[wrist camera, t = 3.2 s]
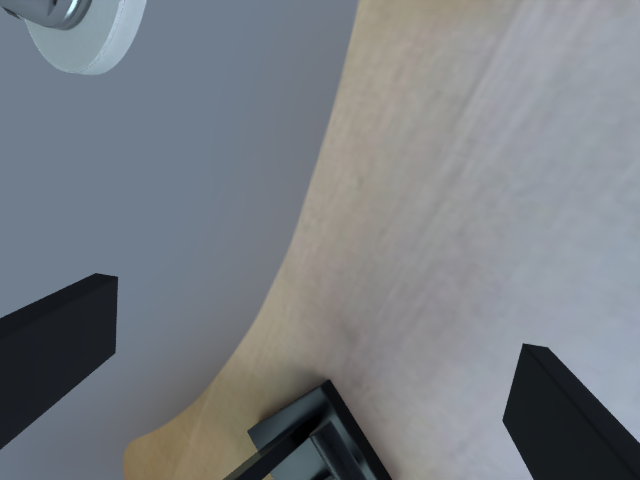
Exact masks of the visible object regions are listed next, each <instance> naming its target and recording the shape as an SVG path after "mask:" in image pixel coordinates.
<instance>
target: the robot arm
mask: <svg viewBox="0 0 640 480" xmlns="http://www.w3.org/2000/svg"><path fill="white" fill-rule="evenodd" d="M91 2H92V0H0V6H2V7H3V8H4V9H5V10H6V11H7V13H8V14H10V15H12V16H14V17H16V18H18V19H20V18H19V17H18V16H17V15H16V14H18V15H20V16H22V17H24V18H26V19H28V20H29V21H31V22H33V23H36V24H39V25H41V26H43V27H48V28H52V29H57V30H63V31H66V30H70V29H73V28H74V27H76V26H77V25H78V24H79V23H80V22H81V21H82V19H83V18H84V16H85V15H86V13H87V11H88V9H89V7H90V5H91ZM15 13H16V14H15ZM117 290H118V277H115V276H109V275H103V274H98V273H95V274H93V275H91V276H89V277H86V278H84V279H82V280H80V281H78V282H76V283H74V284H72V285H70V286H67V287H65V288H63V289H61V290H59V291H57V292H55V293H53V294H51V295H48V296H46V297H44V298H42V299H40V300H38V301H36V302H34V303H31V304H29V305H27V306H25V307H23V308H21V309H19V310H17V311H15V312H13V313H11V314H8V315H6V316H4V317H2V318H0V450H1V449H2V448H3V447H4V446H5V445H6V444H8V443H9V442H10V441H11V440H12V439H14V438H15V437H16V436H17V435H18V434H20V433H21V432H22V431H23V430H24V429H25V428H27V427H28V426H29V425H30V424H31V423H33V422H34V421H35V420H36V419H37V418H39V417H40V416H41V415H42V414H43V413H44V412H46V411H47V410H48V409H49V408H50V407H52V406H53V405H54V404H55V403H56V402H57V401H59V400H60V399H61V398H62V397H63V396H65V395H66V394H67V393H68V392H69V391H71V390H72V389H73V388H74V387H75V386H77V385H78V384H79V383H80V382H81V381H82V380H84V379H85V378H86V377H87V376H89V374H91V373H92V372H93V371H94V370H95V369H97V368H98V367H99V366H100V365H102V364H103V363H104V362H105V361H106V360H108V359H109V358H110V357H111V356H112V355H114V354H115V349H116V348H115V347H116V320H117V319H116V317H117ZM502 421H503V423H504V425H505V427H506V428H507V430H508V432H509V434H510V436H511V438H512V440H513V442H514V443H515V445H516V447H517V449H518V451H519V453H520V455H521V457H522V459H523V460H524V462H525V464H526V466H527V468H528V470H529V472H530V474H531V475H532V477H533V479H534V480H640V443H639V442H638V441H637V440H636V439H635V438H634V437H633V436H632V435H631V434H630V433H629V432H628V431H627V430H626V429H625V427H624V426H623V425H622V424H621V423H620V422H619V421H618V420H617V419H616V418H615V417H614V416H613V415H612V414H611V413H610V412H609V411H608V410H607V409H606V408H605V407H604V406H603V404H602V403H601V402H600V401H599V400H598V399H597V398H596V397H595V396H594V395H593V394H592V393H591V392H590V391H589V390H588V389H587V388H586V387H585V386H584V385H583V384H582V383H581V381H580V380H579V379H578V378H577V377H576V376H575V375H574V374H573V373H572V372H571V371H570V370H569V369H568V368H567V367H566V366H565V365H564V364H563V363H562V362H561V361H560V360H559V359H558V357H557V356H556V355H555V354H554V353H553V352H552V351H551V350H550V349H549V348H548V347H542V346H536V345H530V344H524V343H523V345H522V349H521V353H520V356H519V360H518V364H517V368H516V371H515V375H514V379H513V382H512V386H511V390H510V394H509V397H508V401H507V405H506V409H505V412H504V416H503V420H502Z"/></svg>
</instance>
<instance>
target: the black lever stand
mask: <svg viewBox="0 0 640 480" xmlns="http://www.w3.org/2000/svg"><path fill="white" fill-rule="evenodd" d="M330 420H331V421H332V422H333V424H334V426H335V427H336V429H337V430H338V432H339V434H340V435H341V437H342V439H343V440H344V442H345V444H346V445H347V447H348V449H349V450H350V452H351V454H352V455H353V457H354V458H355V460H356V462H357V463H358V465H359V467H360V468H361V470H362V472H363V473H364V475H365V477H366V478H367V480H392V479H391V477H390V476H389V474H388V472H387V471H386V469H385V468H384V466H383V464H382V463H381V461H380V460H379V458H378V456H377V455H376V453H375V451H374V450H373V448H372V447H371V445H370V443H369V442H368V440H367V439H366V437H365V435H364V434H363V432H362V431H361V429H360V427H359V426H358V424H357V422H356V421H355V419H354V418H353V416H352V414H351V413H350V411H349V410H348V408H347V406H346V405H345V403H344V402H343V400H342V398H341V397H340V395H339V394H338V392H337V390H336V389H335V387H334V385H333V384H332V382H331V381H330V380H327V381H325V382H324V383H322V384H320V385H319V386H317V387H316V388H314V389H312V390H311V391H309V392H307V393H306V394H304V395H303V396H301V397H299V398H298V399H296V400H295V401H293V402H291V403H290V404H288V405H286V406H285V407H283V408H282V409H280V410H278V411H277V412H275V413H273V414H272V415H270V416H269V417H267V418H265V419H264V420H262V421H261V422H259V423H257V424H256V425H254V426H253V427H252V428H250V429H249V430H248V431H247V432H248V434H249V436H250V437H251V439H252V441H253V443H254V445H255V446H256V448H257V450H258V452H256V453H255V454H254V455H253V456H251V457H250V458H249V459H248V460H246V461H245V462H244V463H243V464H241V465H240V466H239V467H238V468H236V469H235V470H234V471H233V472H231V473H230V474H229V475H228V476H226V477H225V478H224V479H223V480H262V479H263V478H264V477H265V476H266V475H268V474H269V473H270V474H271V475H272V477H273V479H274V480H324V479H326V478H327V477H329V476H331V474H330V472H329V470H328V468H327V467H326V465H325V463H324V462H323V460H322V458H321V456H320V455H319V453H318V451H317V450H316V448H315V446H314V445H313V443H312V441H311V439H310V438H309V435H310V434H311V433H312V432H313V431H314V430H315V429H316V428H318V427H319V426H320V425H322V424H323V423H325V422H327V421H330Z"/></svg>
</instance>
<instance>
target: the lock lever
mask: <svg viewBox="0 0 640 480" xmlns="http://www.w3.org/2000/svg"><path fill="white" fill-rule="evenodd" d="M309 438H310V439H311V441H312V443H313V445H314V446H315V448H316V450H317V451H318V453H319V455H320V456H321V458H322V460H323V462H324V463H325V465H326V467H327V468H328V470H329V472H330V474H331V476H329V477H327V478H326V479H324V480H367V478H366V477H365V475H364V473H363V472H362V470H361V468H360V467H359V465H358V463H357V462H356V460H355V458H354V457H353V455H352V454H351V452H350V450H349V449H348V447H347V445H346V444H345V442H344V440H343V439H342V437H341V435H340V434H339V432H338V430H337V429H336V427H335V426H334V424H333V422H332V421H331V420H330V421H327V422H325V423H323V424H322V425H320V426H319V427H318V428H316V429H315V430H314V431H313V432H312V433H311V434H310V435H309Z"/></svg>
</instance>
